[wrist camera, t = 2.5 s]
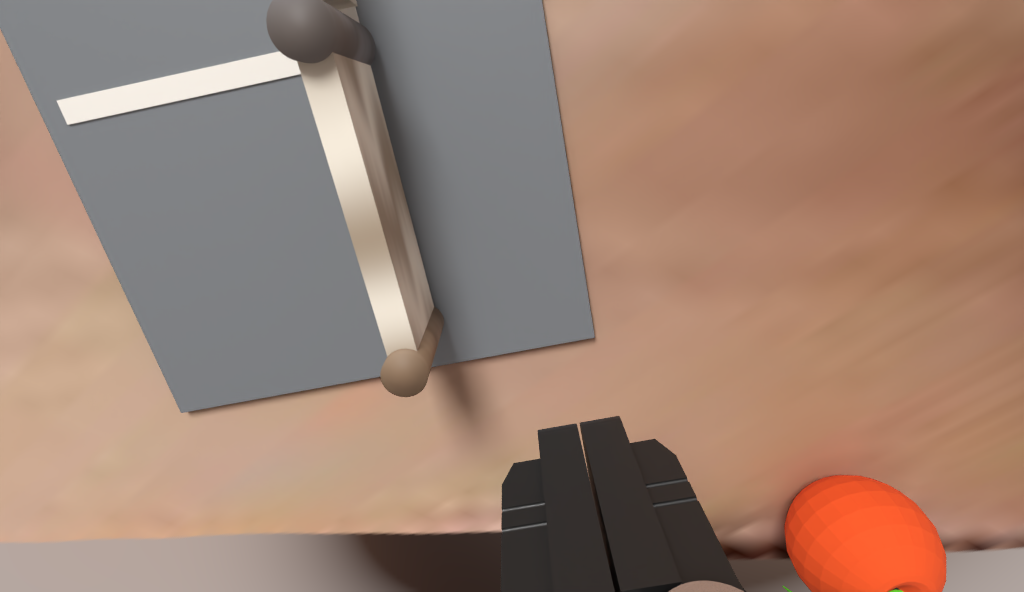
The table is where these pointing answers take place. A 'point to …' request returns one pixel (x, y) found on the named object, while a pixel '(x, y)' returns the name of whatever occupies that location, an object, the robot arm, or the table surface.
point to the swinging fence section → (364, 180)
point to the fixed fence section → (341, 3)
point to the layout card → (307, 182)
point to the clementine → (862, 539)
